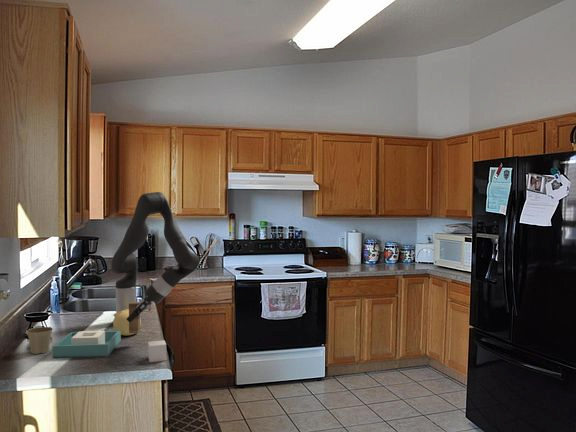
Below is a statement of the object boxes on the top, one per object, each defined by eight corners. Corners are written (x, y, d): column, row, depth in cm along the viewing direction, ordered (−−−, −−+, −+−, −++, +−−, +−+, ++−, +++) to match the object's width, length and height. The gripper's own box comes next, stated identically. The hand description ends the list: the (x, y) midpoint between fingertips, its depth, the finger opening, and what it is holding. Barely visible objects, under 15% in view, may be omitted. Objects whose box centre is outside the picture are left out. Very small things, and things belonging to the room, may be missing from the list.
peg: (131, 331, 208) (130, 301, 207) (140, 330, 208) (139, 301, 208) (129, 333, 204) (128, 303, 204) (138, 333, 204) (137, 303, 204)
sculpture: (140, 329, 231) (140, 306, 230) (141, 336, 219) (140, 311, 219) (113, 331, 227) (113, 307, 227) (113, 338, 216) (112, 313, 215)
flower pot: (56, 347, 203) (55, 326, 203) (49, 354, 194) (49, 332, 194) (31, 349, 202) (30, 327, 201) (23, 356, 192) (22, 333, 192)
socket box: (71, 343, 210) (70, 328, 209) (120, 341, 211) (120, 327, 211) (53, 358, 190) (52, 342, 189) (108, 356, 191) (107, 340, 191)
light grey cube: (164, 355, 192) (164, 340, 192) (166, 360, 186) (166, 344, 186) (148, 357, 190) (148, 341, 190) (149, 362, 184) (149, 345, 184)
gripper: (155, 279, 213) (126, 309, 212) (149, 285, 199) (118, 317, 198) (168, 292, 214) (139, 321, 213) (163, 299, 200) (132, 330, 199)
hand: (129, 319), depth 206 cm, fingers closed on peg, 3 cm apart
